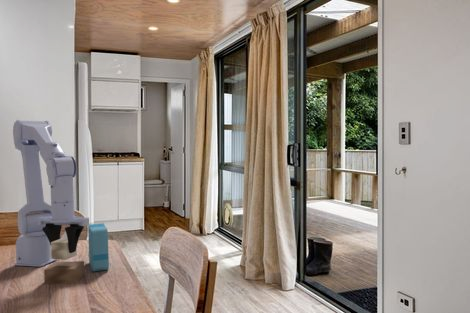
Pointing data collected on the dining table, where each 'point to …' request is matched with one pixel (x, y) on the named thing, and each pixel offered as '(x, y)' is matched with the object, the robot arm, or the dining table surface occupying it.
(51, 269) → the walnut base block
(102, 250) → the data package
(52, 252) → the birch cube
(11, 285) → the dining table surface
